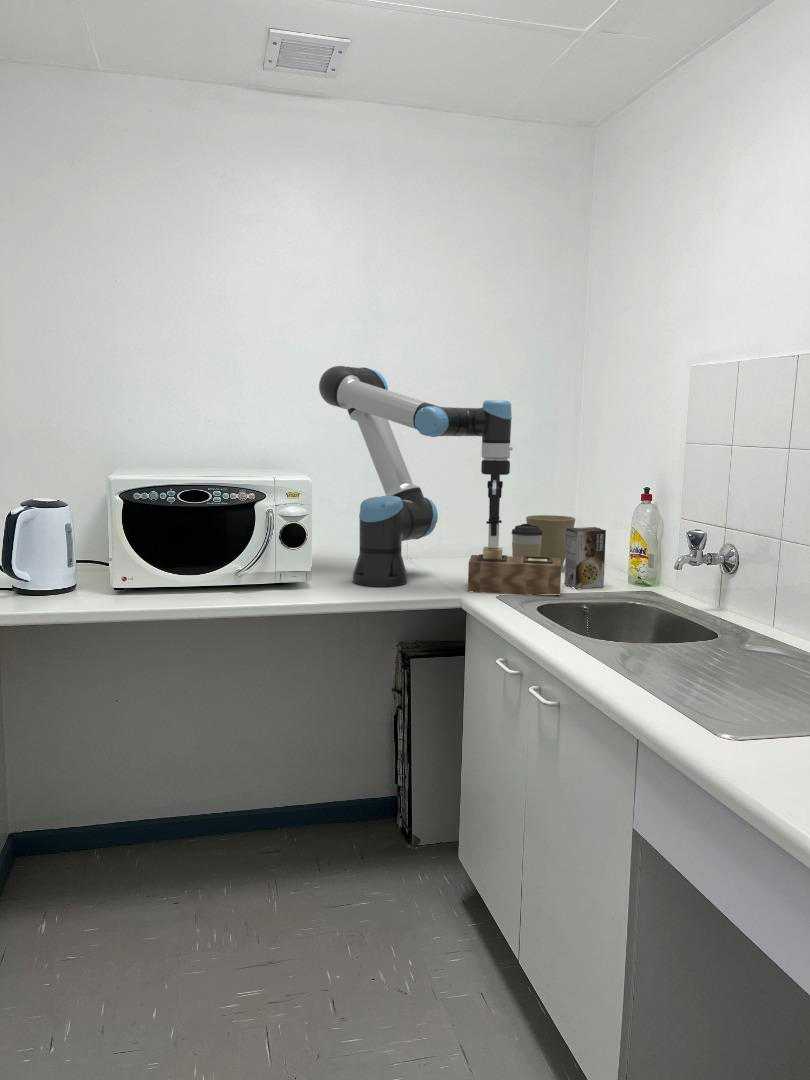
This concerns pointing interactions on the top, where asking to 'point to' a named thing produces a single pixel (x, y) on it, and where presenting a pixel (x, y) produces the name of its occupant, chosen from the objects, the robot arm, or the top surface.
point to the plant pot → (552, 534)
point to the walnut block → (514, 575)
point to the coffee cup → (526, 540)
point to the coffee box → (585, 557)
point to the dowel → (492, 553)
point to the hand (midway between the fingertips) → (493, 547)
